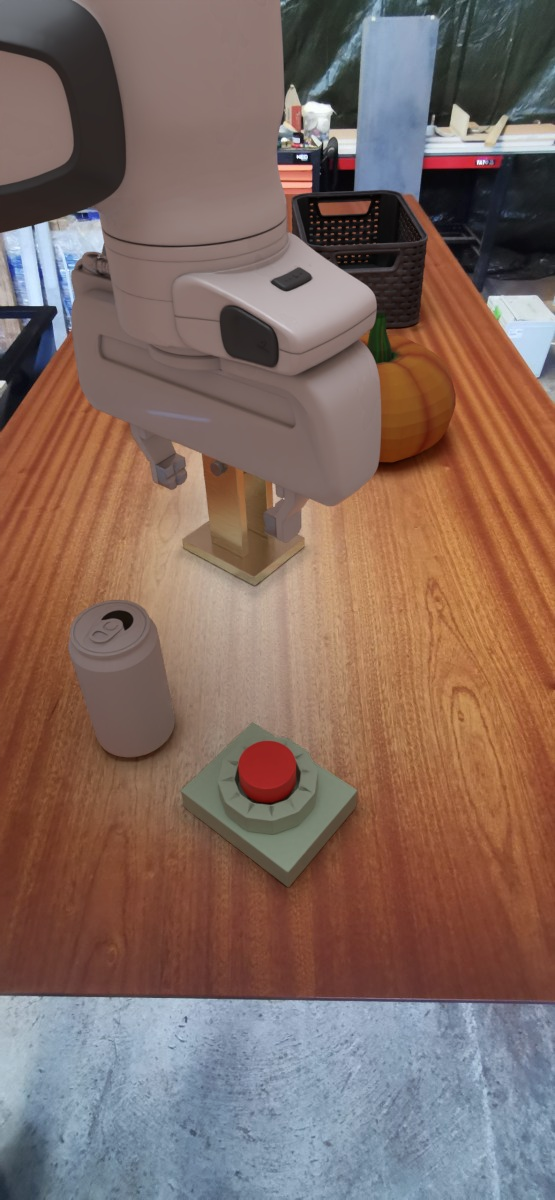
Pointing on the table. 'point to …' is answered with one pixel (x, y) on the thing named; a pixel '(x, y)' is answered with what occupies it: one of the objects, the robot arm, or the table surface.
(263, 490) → the bracket
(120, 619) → the beverage can
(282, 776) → the button
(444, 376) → the pumpkin
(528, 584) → the table surface
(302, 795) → the control block
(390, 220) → the storage bin
